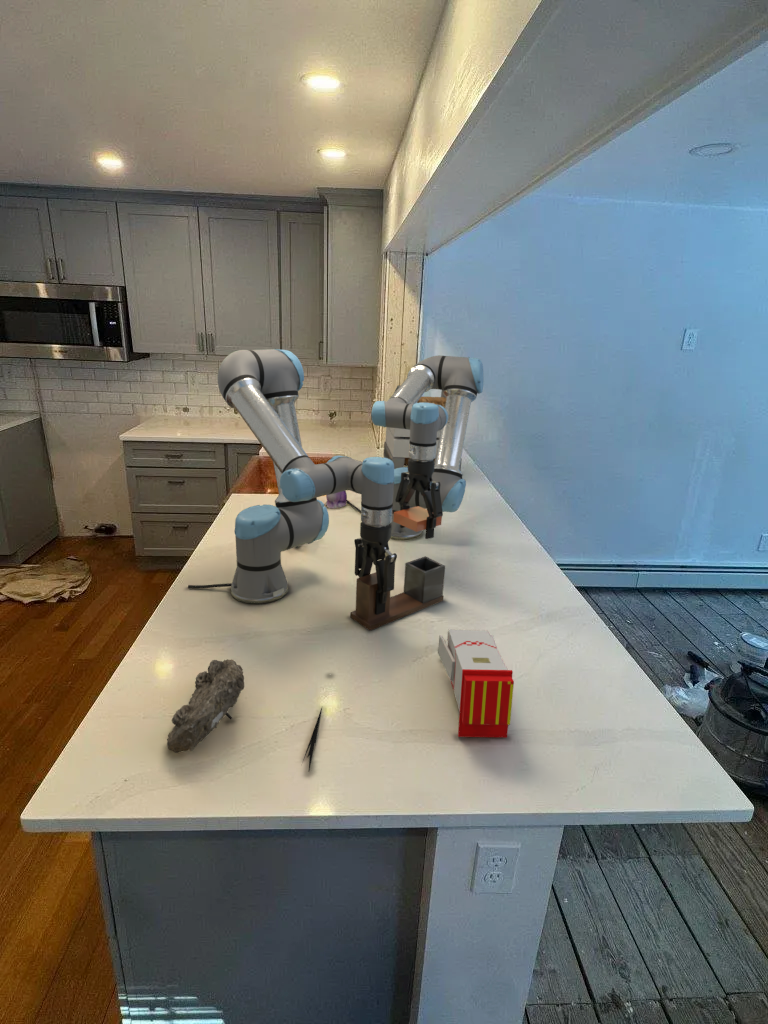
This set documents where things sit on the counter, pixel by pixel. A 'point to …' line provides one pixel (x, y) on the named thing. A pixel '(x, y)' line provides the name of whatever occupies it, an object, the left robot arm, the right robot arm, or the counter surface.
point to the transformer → (406, 437)
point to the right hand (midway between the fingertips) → (416, 532)
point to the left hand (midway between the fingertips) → (372, 607)
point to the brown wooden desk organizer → (418, 594)
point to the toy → (478, 682)
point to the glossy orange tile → (414, 518)
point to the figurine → (336, 500)
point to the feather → (313, 740)
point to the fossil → (206, 705)
